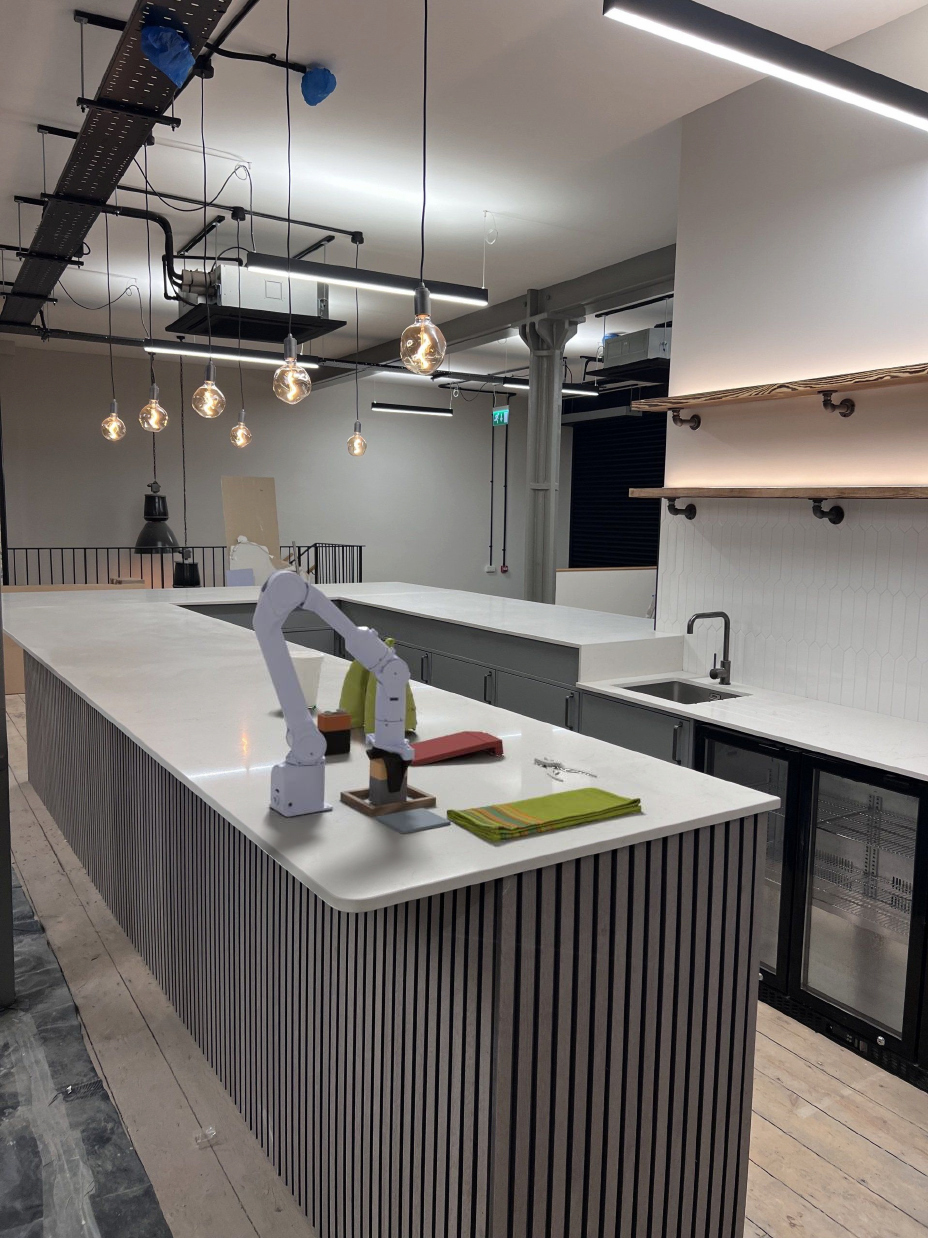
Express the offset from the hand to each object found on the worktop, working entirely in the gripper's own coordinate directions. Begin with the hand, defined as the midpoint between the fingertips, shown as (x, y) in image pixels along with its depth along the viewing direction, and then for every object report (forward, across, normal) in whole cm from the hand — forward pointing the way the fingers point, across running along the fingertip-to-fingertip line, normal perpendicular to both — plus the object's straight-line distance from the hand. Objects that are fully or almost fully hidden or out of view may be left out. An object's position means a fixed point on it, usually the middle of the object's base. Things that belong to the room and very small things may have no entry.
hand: (388, 788), depth 169 cm
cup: (+3, +91, -26) cm, 95 cm away
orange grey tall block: (+2, 0, 0) cm, 2 cm away
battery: (+3, +39, -9) cm, 40 cm away
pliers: (+3, +1, -45) cm, 45 cm away
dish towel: (+3, -21, -22) cm, 30 cm away
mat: (+3, -12, +2) cm, 12 cm away
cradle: (+3, 0, 0) cm, 3 cm away
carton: (+3, +24, -31) cm, 39 cm away
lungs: (+3, +55, -30) cm, 63 cm away
